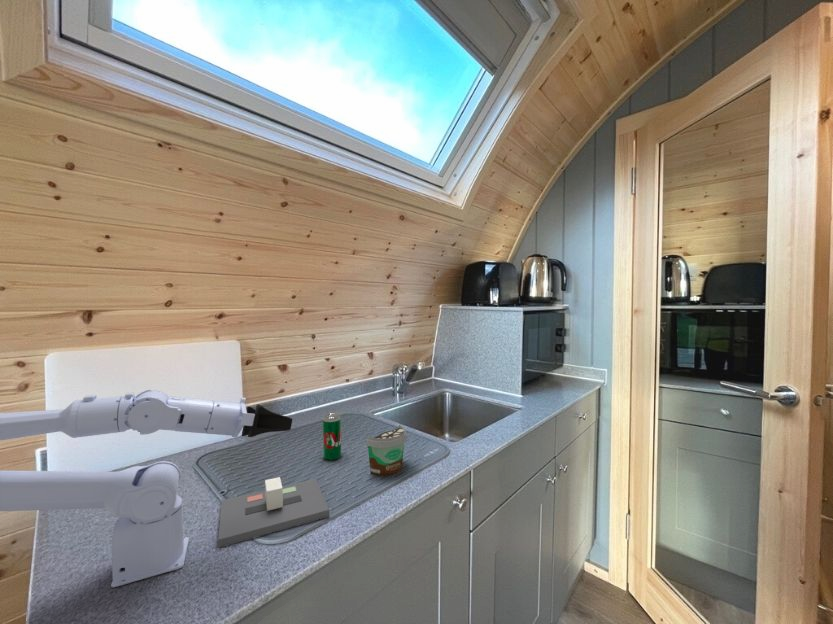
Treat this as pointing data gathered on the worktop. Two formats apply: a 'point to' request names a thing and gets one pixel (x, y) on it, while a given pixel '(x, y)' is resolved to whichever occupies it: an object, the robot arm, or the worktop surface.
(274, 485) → the breaker knob
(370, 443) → the food container
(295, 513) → the switch panel
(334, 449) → the soda can
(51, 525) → the worktop surface
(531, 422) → the worktop surface
